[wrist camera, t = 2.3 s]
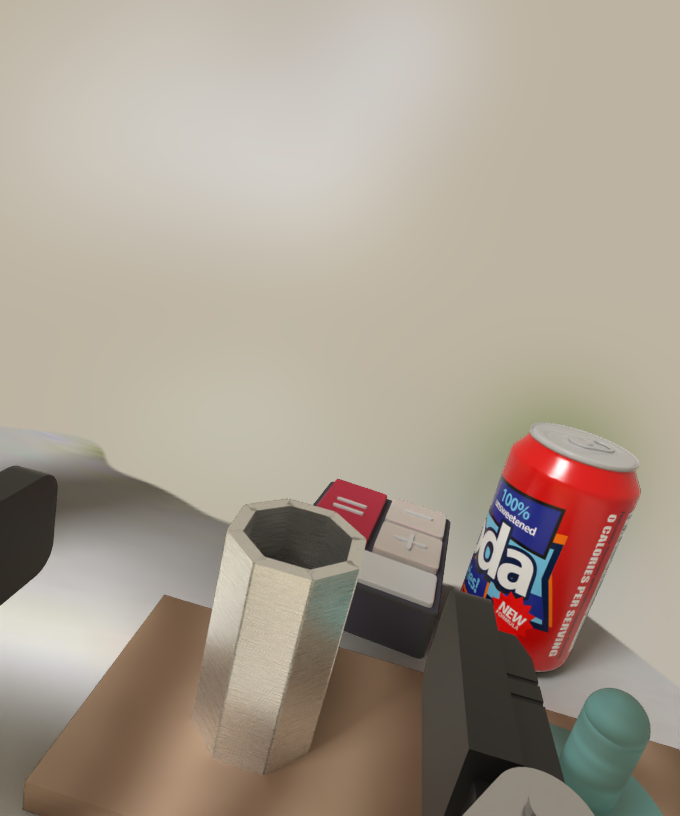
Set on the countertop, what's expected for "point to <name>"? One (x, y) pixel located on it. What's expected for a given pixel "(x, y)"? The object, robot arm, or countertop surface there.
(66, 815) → the jig board
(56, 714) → the countertop surface
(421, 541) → the calculator
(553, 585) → the soda can
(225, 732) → the sleeve
